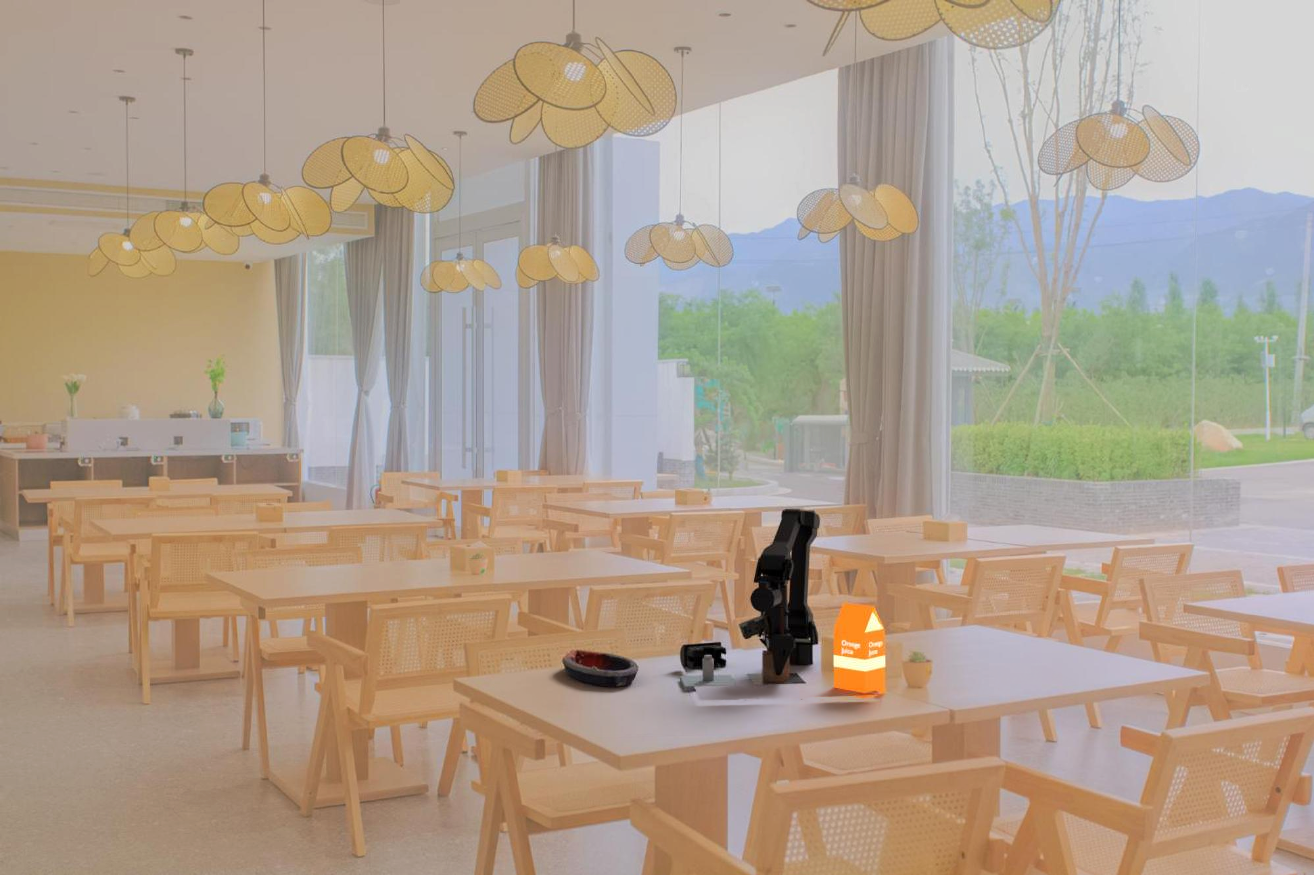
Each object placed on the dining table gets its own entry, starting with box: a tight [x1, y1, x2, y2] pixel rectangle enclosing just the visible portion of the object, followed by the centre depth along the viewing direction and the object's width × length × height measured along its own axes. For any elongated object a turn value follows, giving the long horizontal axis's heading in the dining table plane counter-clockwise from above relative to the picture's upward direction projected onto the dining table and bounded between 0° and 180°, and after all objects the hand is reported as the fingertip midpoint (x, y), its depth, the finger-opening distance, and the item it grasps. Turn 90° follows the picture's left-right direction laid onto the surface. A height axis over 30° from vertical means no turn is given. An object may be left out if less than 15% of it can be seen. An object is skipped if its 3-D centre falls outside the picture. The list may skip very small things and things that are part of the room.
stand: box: [746, 654, 807, 686], centre depth 292 cm, size 12×12×7 cm
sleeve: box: [761, 649, 791, 681], centre depth 292 cm, size 6×6×7 cm
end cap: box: [679, 641, 727, 672], centre depth 309 cm, size 10×7×7 cm
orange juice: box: [833, 602, 886, 699], centre depth 282 cm, size 8×9×20 cm
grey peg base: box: [679, 655, 738, 692], centre depth 291 cm, size 12×12×7 cm
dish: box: [561, 649, 639, 687], centre depth 302 cm, size 16×31×5 cm, turn 23°
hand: (775, 672), depth 292 cm, fingers closed on sleeve, 6 cm apart
